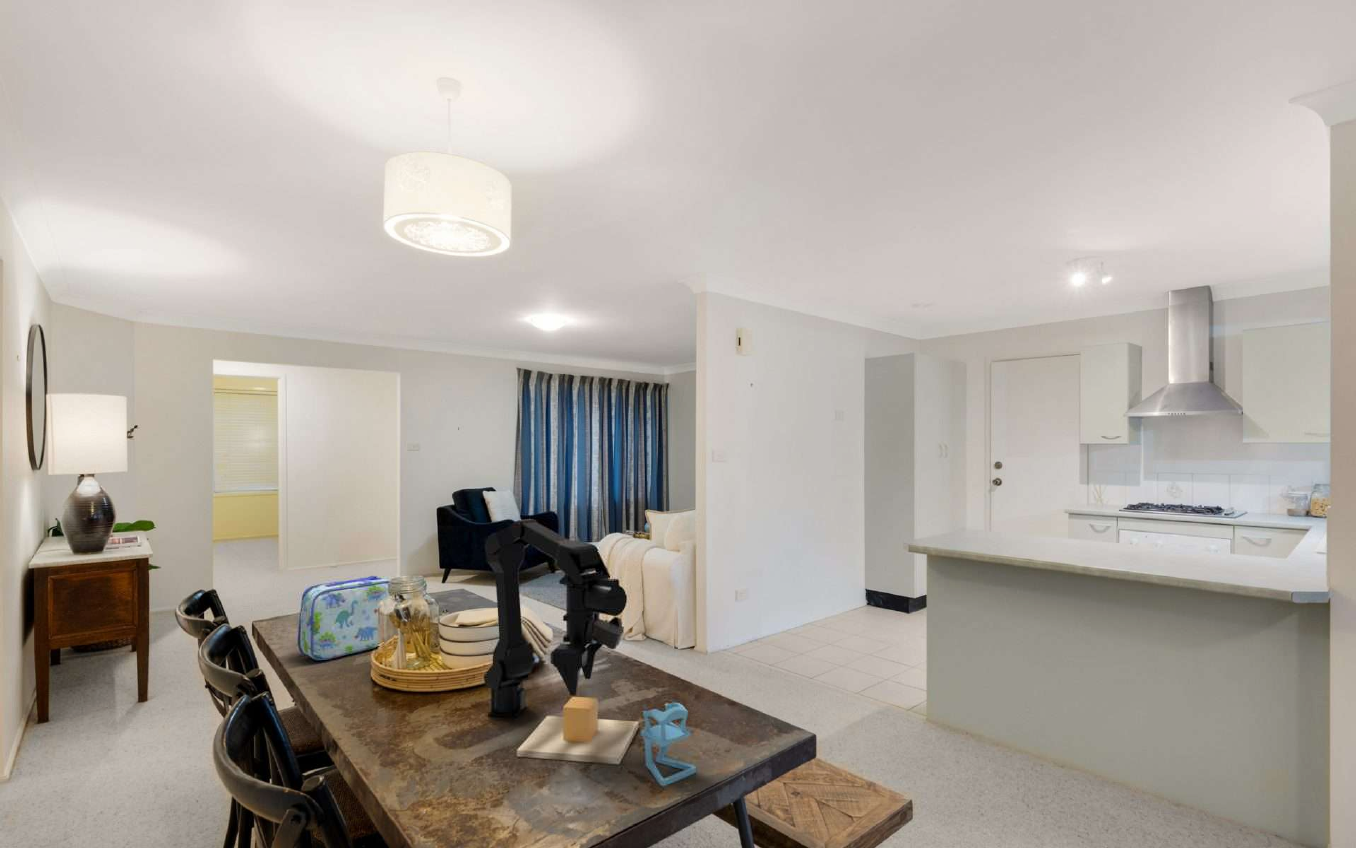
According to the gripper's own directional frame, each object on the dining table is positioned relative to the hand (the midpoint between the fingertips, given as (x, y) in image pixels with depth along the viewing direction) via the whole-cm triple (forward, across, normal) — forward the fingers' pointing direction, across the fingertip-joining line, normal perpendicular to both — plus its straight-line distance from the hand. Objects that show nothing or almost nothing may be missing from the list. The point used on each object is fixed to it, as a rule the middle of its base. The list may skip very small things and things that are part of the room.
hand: (580, 687), depth 130 cm
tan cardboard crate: (+10, 0, 0) cm, 10 cm away
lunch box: (+11, +46, +85) cm, 97 cm away
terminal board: (+11, 0, 0) cm, 11 cm away
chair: (+11, -9, -19) cm, 24 cm away
